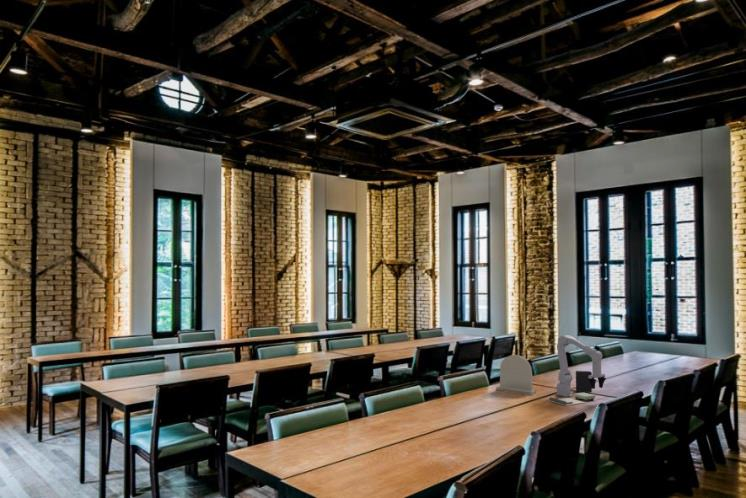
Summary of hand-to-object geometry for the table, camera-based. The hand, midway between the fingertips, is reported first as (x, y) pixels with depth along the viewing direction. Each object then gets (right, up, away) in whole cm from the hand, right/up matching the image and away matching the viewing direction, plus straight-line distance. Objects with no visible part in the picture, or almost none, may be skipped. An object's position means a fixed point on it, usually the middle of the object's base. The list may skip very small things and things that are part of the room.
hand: (597, 388), depth 362 cm
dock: (-22, -9, -2) cm, 24 cm away
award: (-49, -11, +29) cm, 58 cm away
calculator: (+5, -12, +34) cm, 36 cm away
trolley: (-6, -10, +6) cm, 13 cm away
